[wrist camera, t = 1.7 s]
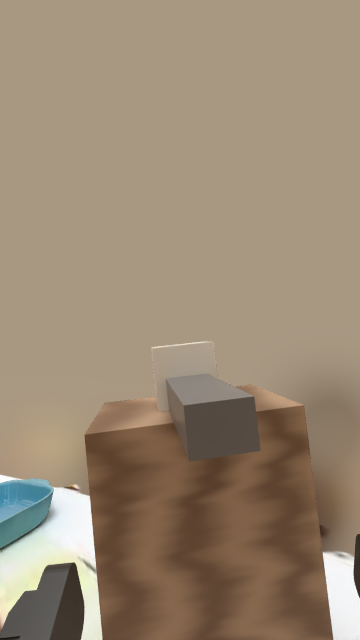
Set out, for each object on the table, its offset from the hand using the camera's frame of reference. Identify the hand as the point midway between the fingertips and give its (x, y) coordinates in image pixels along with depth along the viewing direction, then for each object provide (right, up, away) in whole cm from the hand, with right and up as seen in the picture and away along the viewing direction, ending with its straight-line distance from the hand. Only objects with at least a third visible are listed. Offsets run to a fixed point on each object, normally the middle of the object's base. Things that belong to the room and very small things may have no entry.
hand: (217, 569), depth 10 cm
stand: (+3, -33, +23) cm, 40 cm away
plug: (0, -1, +18) cm, 18 cm away
